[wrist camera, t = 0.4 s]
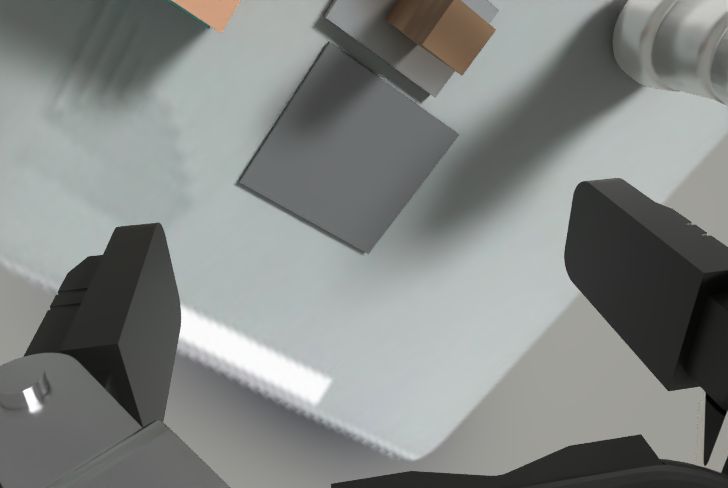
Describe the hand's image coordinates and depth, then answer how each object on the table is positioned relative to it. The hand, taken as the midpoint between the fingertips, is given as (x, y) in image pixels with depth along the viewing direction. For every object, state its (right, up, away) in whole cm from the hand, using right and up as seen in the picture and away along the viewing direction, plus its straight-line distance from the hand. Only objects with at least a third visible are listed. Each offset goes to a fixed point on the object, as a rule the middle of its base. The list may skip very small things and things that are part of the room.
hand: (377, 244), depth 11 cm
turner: (+2, +13, +22) cm, 26 cm away
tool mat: (-1, +6, +26) cm, 26 cm away
